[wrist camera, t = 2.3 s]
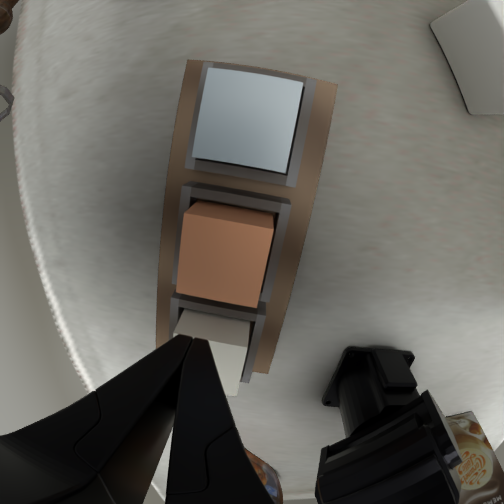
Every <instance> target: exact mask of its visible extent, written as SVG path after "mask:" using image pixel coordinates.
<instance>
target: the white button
mask: <svg viewBox="0 0 504 504" xmlns="http://www.w3.org/2000/svg"><path fill="white" fill-rule="evenodd" d="M249 328H250V320H244V319H239V318H234V317H228V316H223V315H218V314H213V313H208V312H203V311H198V310H193V309H188V308H184V311H183V313H182V315H181V317H180V319H179V322H178V324H177V326H176V328H175V330H174V333H173V337H175V336H176V335H178V334H183V335H188V336H192V337H193V338H195V337H197V338H202V339H207V340H208V341H209V344H210V347H211V351H212V354H213V357H214V361H215V364H216V367H217V370H218V373H219V377H220V380H221V383H222V386H223V389H224V392H225V395H229V396H235V397H236V396H237V392H238V387H239V383H240V379H241V375H242V370H243V366H244V362H245V357H246V353H247V349H248V339H249Z"/></svg>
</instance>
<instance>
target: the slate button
mask: <svg viewBox="0 0 504 504" xmlns="http://www.w3.org/2000/svg"><path fill="white" fill-rule="evenodd" d="M302 87H303V82H298V81H294V80H289V79H284V78H279V77H273V76H268V75H262V74H256V73H249V72H242V71H235V70H227V69H218V68H208V71H207V76H206V81H205V86H204V91H203V96H202V101H201V106H200V112H199V117H198V123H197V128H196V134H195V140H194V146H193V152H192V157H196V158H203V159H209V160H216V161H222V162H228V163H234V164H240V165H246V166H251V167H257V168H262V169H267V170H272V171H277V172H282V173H286V168H287V163H288V158H289V153H290V148H291V143H292V138H293V133H294V128H295V123H296V118H297V113H298V108H299V102H300V97H301V92H302Z"/></svg>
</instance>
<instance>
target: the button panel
mask: <svg viewBox="0 0 504 504" xmlns="http://www.w3.org/2000/svg"><path fill="white" fill-rule="evenodd" d="M208 68H218V69H227V70H235V71H242V72H249V73H256V74H262V75H268V76H273V77H279V78H284V79H289V80H294V81H298V82H303V87H302V92H301V97H300V102H299V108H298V113H297V118H296V123H295V128H294V133H293V138H292V143H291V148H290V153H289V158H288V163H287V168H286V173H282V172H277V171H272V170H267V169H262V168H257V167H251V166H246V165H240V164H234V163H228V162H222V161H216V160H209V159H203V158H196V157H192V152H193V146H194V140H195V134H196V128H197V123H198V117H199V112H200V106H201V101H202V96H203V91H204V86H205V81H206V76H207V71H208ZM337 87H338V84H334V83H330V82H326V81H322V80H318V79H314V78H310V77H306V76H301V75H297V74H292V73H287V72H282V71H277V70H271V69H265V68H259V67H253V66H246V65H239V64H231V63H222V62H212V61H201V60H187V65H186V69H185V74H184V79H183V84H182V88H181V94H180V99H179V104H178V110H177V115H176V121H175V127H174V133H173V139H172V146H171V152H170V159H169V167H168V174H167V182H166V190H165V199H164V208H163V218H162V229H161V241H160V254H159V269H158V287H157V313H156V349H157V348H158V347H160V346H161V345H163V344H164V343H166V342H167V341H169V340H170V339H172V338H173V333H174V330H175V328H176V326H177V324H178V322H179V319H180V317H181V315H182V313H183V311H184V308H188V309H193V310H198V311H203V312H208V313H213V314H218V315H223V316H228V317H234V318H239V319H244V320H250V328H249V339H248V349H247V353H246V357H245V362H244V366H243V370H242V375H241V379H240V382H245V383H249V381H250V377H251V374H252V372H259V373H265V374H268V372H269V369H270V365H271V362H272V359H273V355H274V352H275V349H276V345H277V342H278V338H279V335H280V331H281V328H282V324H283V321H284V317H285V313H286V310H287V306H288V303H289V299H290V295H291V291H292V288H293V284H294V280H295V276H296V272H297V269H298V265H299V261H300V257H301V253H302V249H303V245H304V241H305V237H306V233H307V229H308V224H309V220H310V216H311V212H312V208H313V203H314V199H315V195H316V190H317V186H318V181H319V177H320V172H321V167H322V163H323V158H324V153H325V149H326V144H327V139H328V134H329V129H330V124H331V119H332V114H333V108H334V103H335V98H336V92H337ZM198 200H199V201H205V202H211V203H217V204H223V205H228V206H234V207H239V208H245V209H250V210H255V211H261V212H266V213H271V214H273V227H274V231H273V235H272V240H271V245H270V249H269V254H268V259H267V263H266V268H265V272H264V277H263V282H262V286H261V291H260V295H259V300H258V304H257V308H253V307H248V306H242V305H237V304H232V303H226V302H221V301H216V300H211V299H206V298H201V297H196V296H191V295H186V294H181V293H177V292H176V287H177V275H178V264H179V253H180V244H181V234H182V225H183V217H184V213H185V212H186V211H187V210H188V209H189V208H190V207H191V206H192V205H194V204H195V203H196V202H197V201H198Z"/></svg>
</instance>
